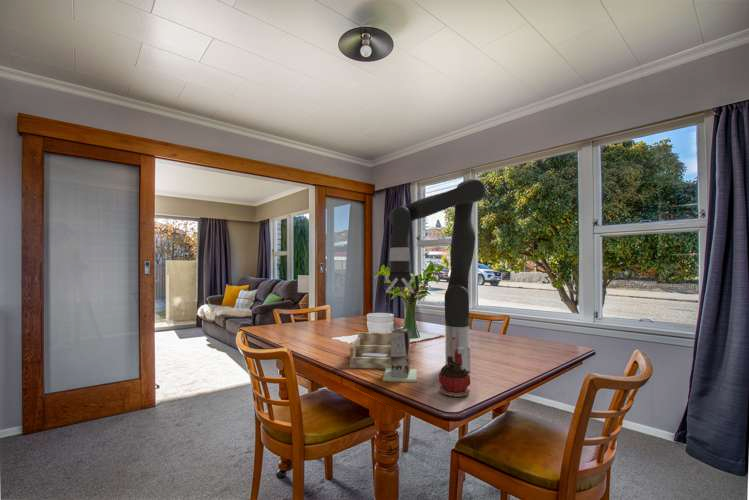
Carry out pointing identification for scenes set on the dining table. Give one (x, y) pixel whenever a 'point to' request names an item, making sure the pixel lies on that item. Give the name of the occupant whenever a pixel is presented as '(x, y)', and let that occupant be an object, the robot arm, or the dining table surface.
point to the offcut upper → (375, 355)
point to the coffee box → (400, 352)
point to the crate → (371, 350)
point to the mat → (411, 377)
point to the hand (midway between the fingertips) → (400, 303)
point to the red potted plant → (454, 374)
